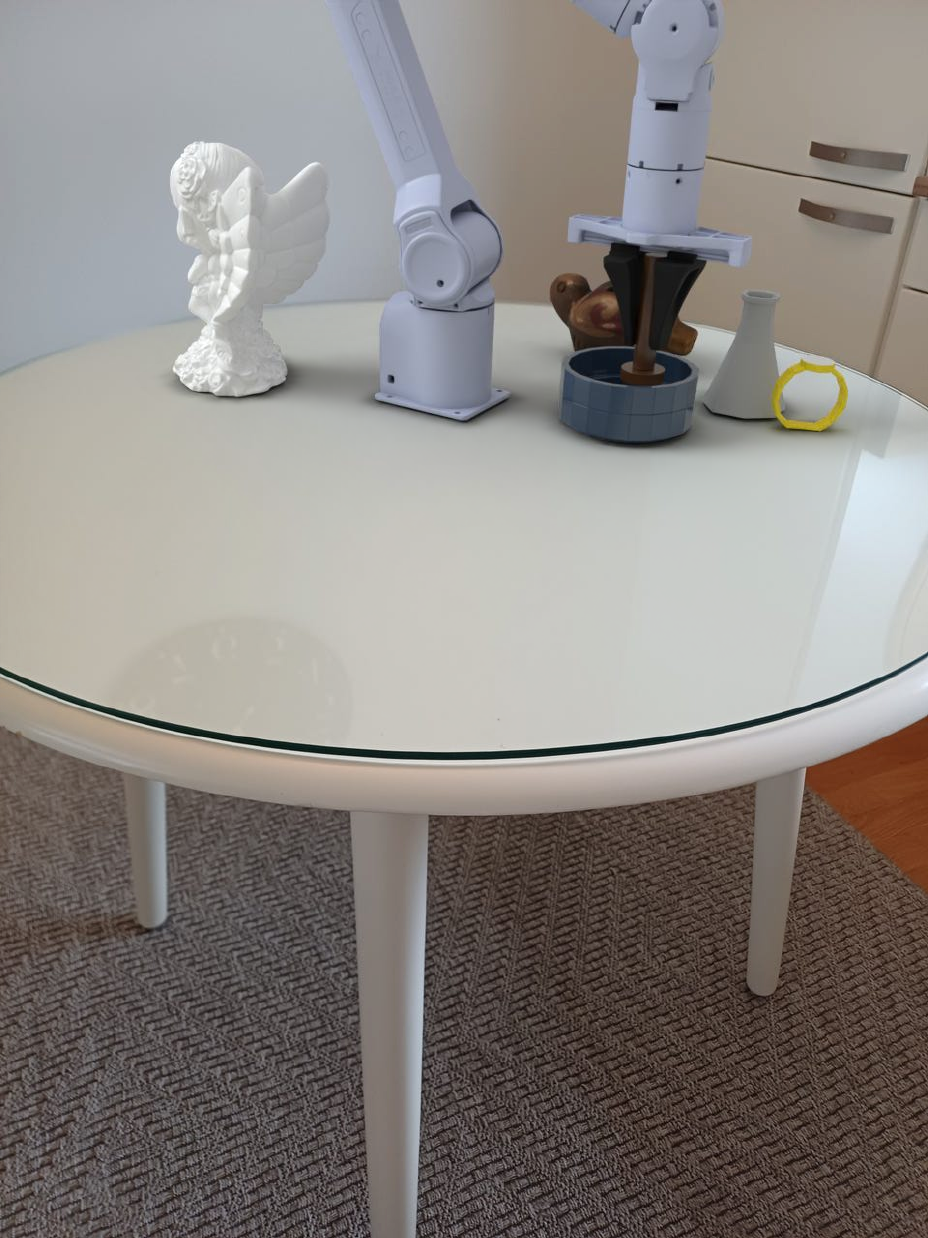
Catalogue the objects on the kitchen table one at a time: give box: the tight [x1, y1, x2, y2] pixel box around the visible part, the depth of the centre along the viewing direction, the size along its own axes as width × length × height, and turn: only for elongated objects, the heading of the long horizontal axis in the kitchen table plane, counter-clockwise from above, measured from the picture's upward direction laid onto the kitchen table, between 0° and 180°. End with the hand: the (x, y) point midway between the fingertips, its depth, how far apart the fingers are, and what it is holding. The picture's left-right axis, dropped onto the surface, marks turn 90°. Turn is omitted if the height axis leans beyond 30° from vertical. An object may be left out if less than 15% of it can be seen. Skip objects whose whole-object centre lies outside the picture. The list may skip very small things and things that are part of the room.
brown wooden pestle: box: [620, 253, 667, 386], centre depth 87 cm, size 4×4×10 cm
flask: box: [701, 289, 786, 419], centre depth 94 cm, size 7×7×10 cm
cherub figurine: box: [169, 140, 331, 398], centre depth 96 cm, size 13×12×20 cm
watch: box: [771, 354, 849, 432], centre depth 91 cm, size 6×3×6 cm, turn 89°
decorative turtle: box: [549, 272, 699, 357], centre depth 106 cm, size 10×15×8 cm, turn 70°
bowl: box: [557, 346, 700, 444], centre depth 91 cm, size 11×11×5 cm
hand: (645, 344), depth 88 cm, fingers closed on brown wooden pestle, 2 cm apart
